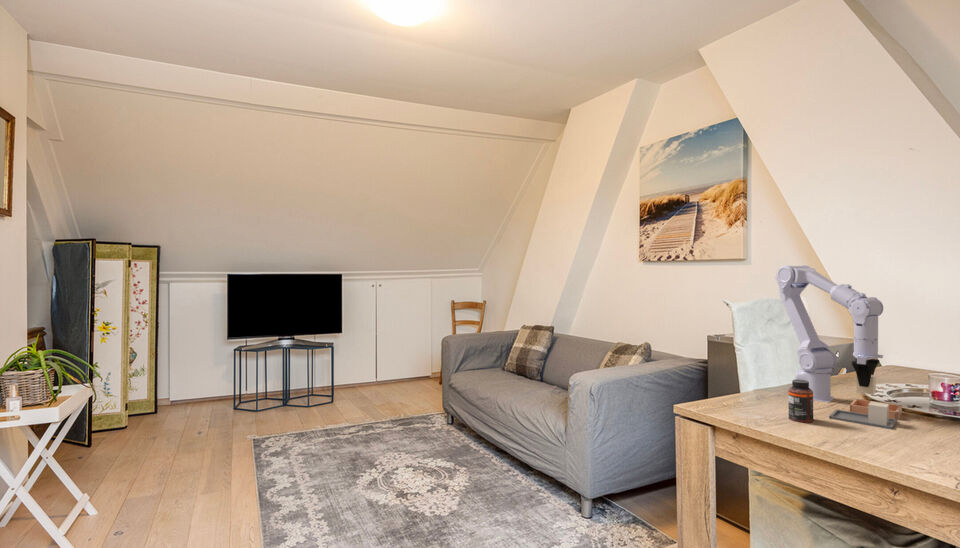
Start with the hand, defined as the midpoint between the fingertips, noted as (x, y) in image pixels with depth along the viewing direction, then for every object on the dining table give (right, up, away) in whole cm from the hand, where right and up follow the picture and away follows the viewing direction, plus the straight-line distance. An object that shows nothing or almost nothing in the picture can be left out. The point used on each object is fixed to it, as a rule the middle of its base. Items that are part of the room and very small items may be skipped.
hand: (865, 385), depth 153 cm
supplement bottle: (-24, -9, -7) cm, 26 cm away
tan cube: (0, -2, 0) cm, 2 cm away
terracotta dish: (+2, -8, -2) cm, 8 cm away
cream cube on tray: (-4, -8, -11) cm, 14 cm away
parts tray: (-7, -8, -8) cm, 14 cm away
